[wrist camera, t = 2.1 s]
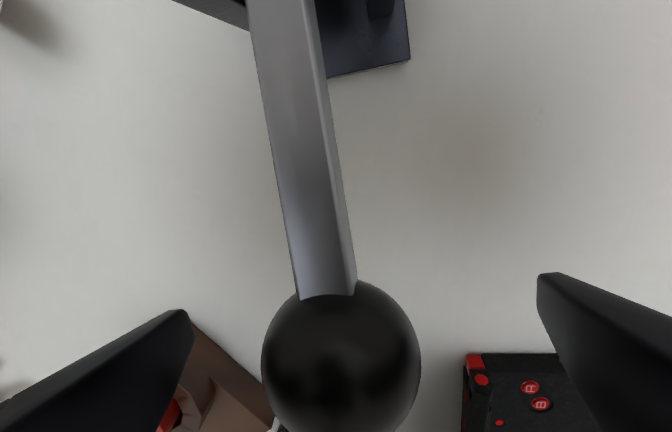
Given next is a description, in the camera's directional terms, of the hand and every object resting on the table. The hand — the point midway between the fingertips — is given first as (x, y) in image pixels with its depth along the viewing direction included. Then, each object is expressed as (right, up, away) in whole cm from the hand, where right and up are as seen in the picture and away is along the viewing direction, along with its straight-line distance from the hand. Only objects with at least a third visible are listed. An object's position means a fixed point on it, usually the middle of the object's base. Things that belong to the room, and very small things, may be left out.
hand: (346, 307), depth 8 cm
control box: (-10, -9, +16) cm, 21 cm away
